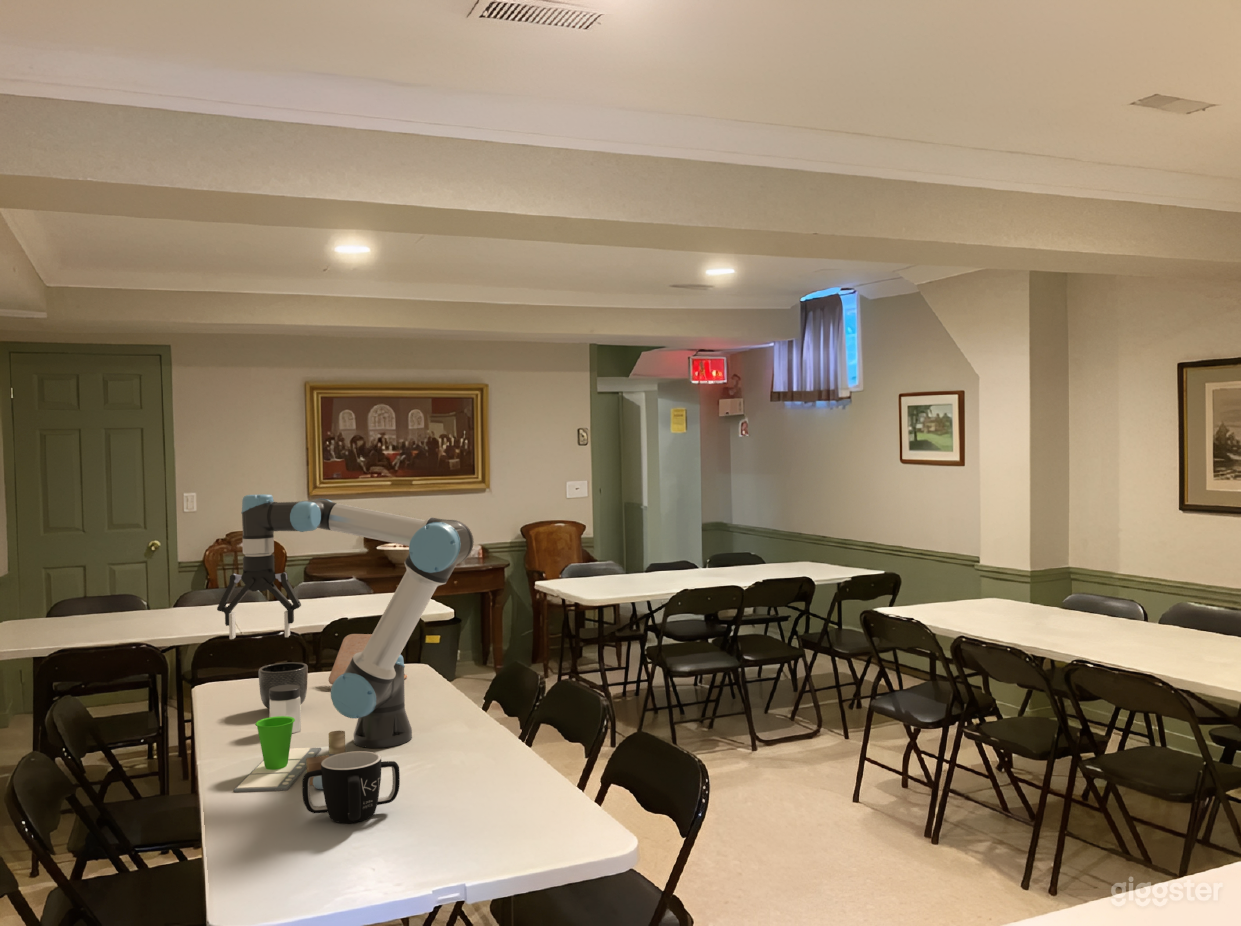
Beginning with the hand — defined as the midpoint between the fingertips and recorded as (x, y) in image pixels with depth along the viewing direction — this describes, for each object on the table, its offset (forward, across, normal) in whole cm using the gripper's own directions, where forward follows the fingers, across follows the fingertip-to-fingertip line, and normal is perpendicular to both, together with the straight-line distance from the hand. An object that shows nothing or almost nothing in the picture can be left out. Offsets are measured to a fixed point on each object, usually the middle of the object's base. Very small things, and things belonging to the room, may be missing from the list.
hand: (260, 637), depth 247 cm
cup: (+29, -7, +15) cm, 33 cm away
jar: (+30, -1, -20) cm, 36 cm away
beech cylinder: (+30, -20, +6) cm, 36 cm away
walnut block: (+30, -19, +24) cm, 43 cm away
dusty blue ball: (+30, -20, +30) cm, 47 cm away
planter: (+30, +4, -43) cm, 53 cm away
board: (+30, -8, +15) cm, 34 cm away
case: (+30, -16, -73) cm, 81 cm away
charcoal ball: (+30, -20, +16) cm, 40 cm away
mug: (+30, -30, +49) cm, 65 cm away
